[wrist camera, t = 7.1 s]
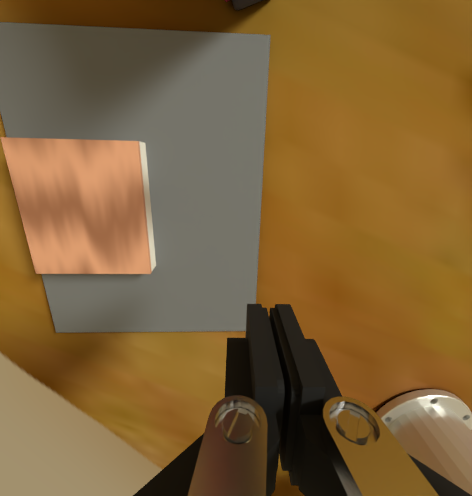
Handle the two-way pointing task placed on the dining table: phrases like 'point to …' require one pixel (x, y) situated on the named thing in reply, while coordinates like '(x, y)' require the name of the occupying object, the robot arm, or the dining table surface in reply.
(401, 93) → the dining table surface
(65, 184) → the tile
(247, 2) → the grey and red box
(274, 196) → the dining table surface
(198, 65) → the mat
